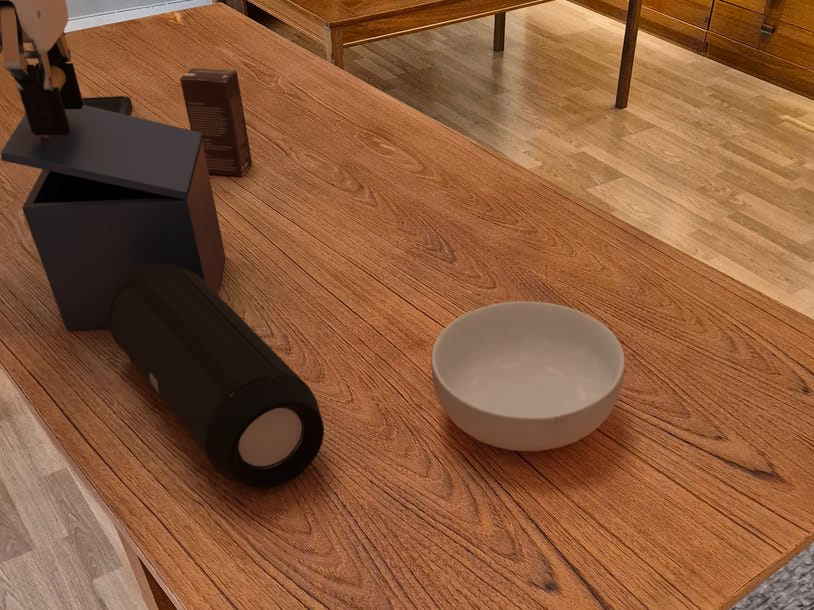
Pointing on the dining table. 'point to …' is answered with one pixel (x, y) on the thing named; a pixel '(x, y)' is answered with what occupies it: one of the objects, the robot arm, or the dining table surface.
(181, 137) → the lid
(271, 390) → the portable speaker
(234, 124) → the box
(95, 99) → the phone
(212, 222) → the chest
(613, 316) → the dining table surface
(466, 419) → the cereal bowl
